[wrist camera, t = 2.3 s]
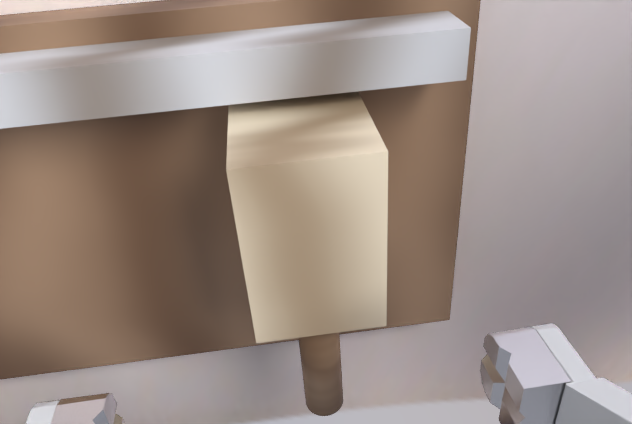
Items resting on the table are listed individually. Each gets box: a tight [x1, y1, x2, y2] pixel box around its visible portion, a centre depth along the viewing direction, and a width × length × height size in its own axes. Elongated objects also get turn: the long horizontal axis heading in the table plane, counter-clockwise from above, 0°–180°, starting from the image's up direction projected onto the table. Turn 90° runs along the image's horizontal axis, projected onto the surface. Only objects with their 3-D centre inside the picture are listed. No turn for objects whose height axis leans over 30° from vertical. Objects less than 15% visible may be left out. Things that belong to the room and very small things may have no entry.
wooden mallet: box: [226, 91, 388, 416], centre depth 19 cm, size 4×11×5 cm, turn 4°
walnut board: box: [0, 0, 480, 379], centre depth 19 cm, size 22×14×4 cm, turn 94°
